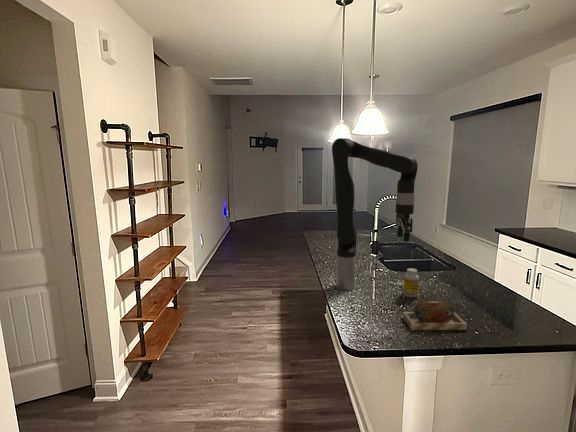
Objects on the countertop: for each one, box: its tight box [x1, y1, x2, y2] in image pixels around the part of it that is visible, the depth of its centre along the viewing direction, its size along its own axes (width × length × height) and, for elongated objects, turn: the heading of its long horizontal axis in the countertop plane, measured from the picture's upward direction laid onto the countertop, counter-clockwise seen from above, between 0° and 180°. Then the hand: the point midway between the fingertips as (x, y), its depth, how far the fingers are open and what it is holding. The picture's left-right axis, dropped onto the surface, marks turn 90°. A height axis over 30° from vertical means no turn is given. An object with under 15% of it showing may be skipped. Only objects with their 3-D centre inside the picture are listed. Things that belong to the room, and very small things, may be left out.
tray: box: [402, 311, 468, 331], centre depth 130 cm, size 21×10×2 cm, turn 89°
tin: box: [413, 300, 455, 323], centre depth 130 cm, size 15×3×8 cm, turn 89°
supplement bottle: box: [402, 267, 420, 298], centre depth 157 cm, size 7×7×13 cm
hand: (402, 238), depth 145 cm, fingers open, 8 cm apart
